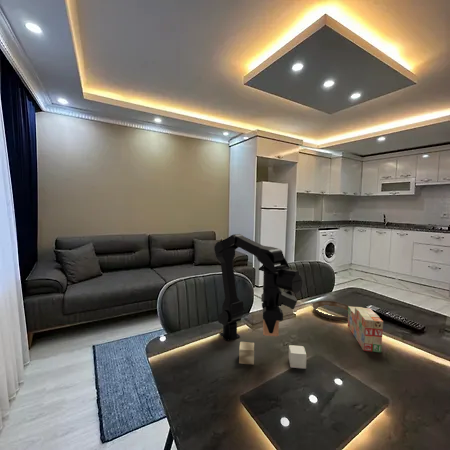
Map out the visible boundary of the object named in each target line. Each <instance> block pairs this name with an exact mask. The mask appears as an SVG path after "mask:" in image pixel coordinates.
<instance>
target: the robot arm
mask: <svg viewBox="0 0 450 450" xmlns="http://www.w3.org/2000/svg"><path fill="white" fill-rule="evenodd" d="M239 248H240V249H242V250H243V251H244V252H247V253H249V254H251V255H253V256H254V257H256V259H257V261H258V262H259V263H260V264H262V265H261V266H259V267H258V271H261V272H263V274H262V275H263V279H262V280H263V283H262V293H261V294H260V295H261V296H260V297H261V299H260V302H262V303H261V308H262V320H263V319H264V320H265V323H266V325H267V328H268V331H269V333H273V330H274V327H275V323H276V321H279V322H282V321H283V320H284V313H283V310H282V308H280V307H282V305H283V306H284V307H288V308H289V309H291V310H295V307H296V305H297V303H298V299H297V298H296V296H295V295H294V294H297V293H299V292H300V291H301V289H302V287H303V279H302V276H301V275H300V270H296V269H291V267H290V265H289V263H288V262H287V261H288V260H287V259H286V257H285V255H284V251H283V250H282V249H281V248H278V247H275V246H268V245H262V244H261V243H258V242H257V241H254V240H252V239H251V238H248V237H246V236H244V235H243V234H242V233H241V234H240V233H237V234H236V233H235V234H232V235H230V236H229V237H227V238H225V239H223V240H220V241H217V242H216V243H215V245H214V254H215V257H216V259H217V261H219V263H220V269H221V275H222V276H221V277H222V283H223V284H222V285H223V292H224V300H223V303H222V307H221V308H222V311H221V313H220V314H219V315H218V316H217V320H218V321H217V322H218V323H219V324H221V325H222V332H219V334H218V335H219V336H220V337H221V338H222V339H224V340H225V341H226V342H227V341H232V340H235V339H239V338H241V336H240V335H239V334H238V322H240V321H241V320H242V318H243V316H244V313H245V307H244V301H242V300H240V299H239V297H238V294H237V286H236V285H237V284H236V277H235V272H234V271H235V270H234V259H235V257H236V251H237V249H239ZM282 290H284V291H282ZM293 293H294V294H293Z"/></svg>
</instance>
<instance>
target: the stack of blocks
mask: <svg viewBox="0 0 450 450" xmlns="http://www.w3.org/2000/svg"><path fill="white" fill-rule="evenodd" d="M350 306H351V305H349V306H348V320H347V326H348V328H349V330H350V332H351V333H352V335H353V336H354V338H355V340H356V341H357V343H358V344H359V345H360V347H361V349H362V350H363V351H364V352H371V353H372V352H375V353H382V348H383V347H382V345H383V344H382V343H383V332H384V330H383V328H384V320H382V318H380V316H379V315H378V314H377V313H376V312H374V311H373V310H372V308H369V307H362V306H351V307H350Z"/></svg>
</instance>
